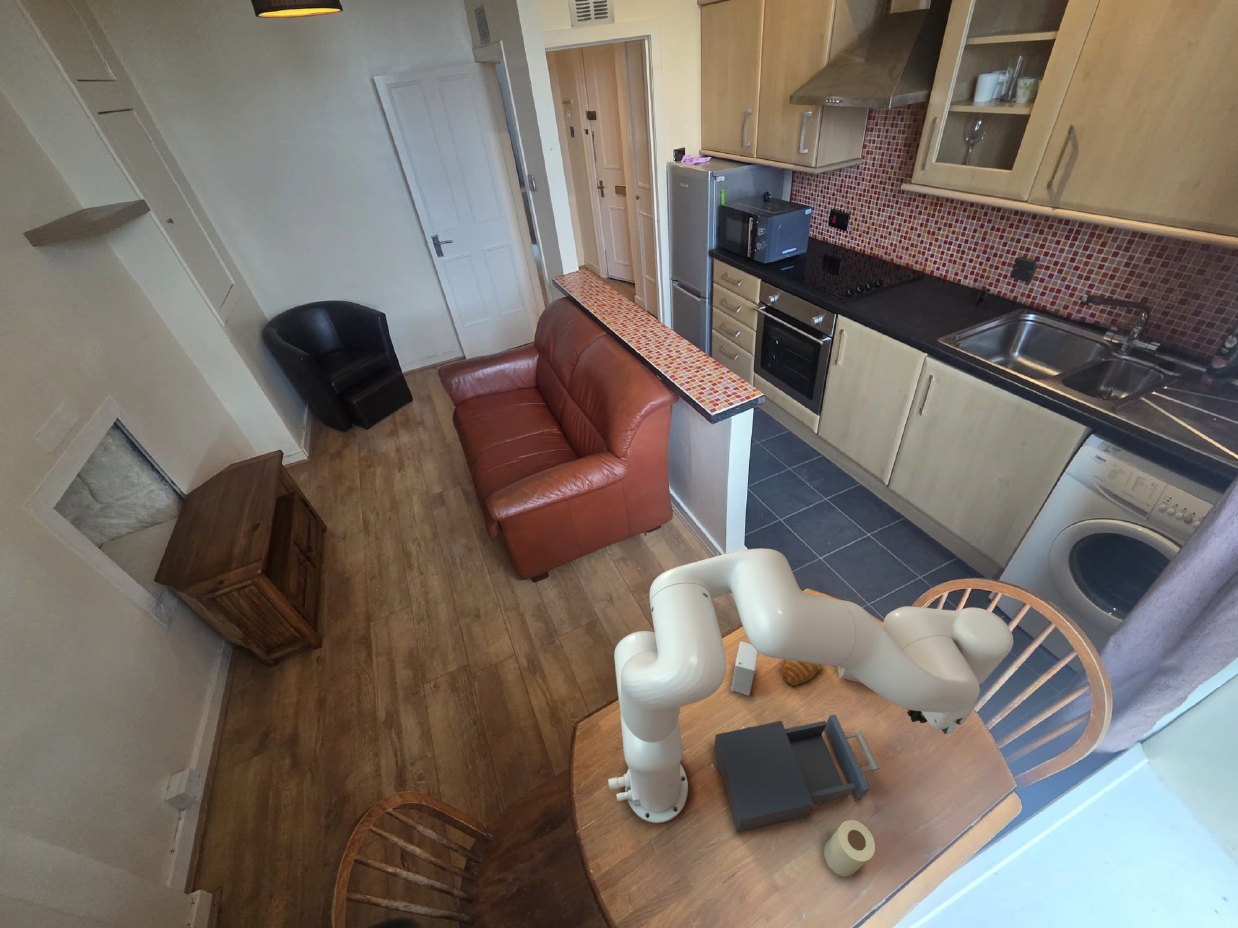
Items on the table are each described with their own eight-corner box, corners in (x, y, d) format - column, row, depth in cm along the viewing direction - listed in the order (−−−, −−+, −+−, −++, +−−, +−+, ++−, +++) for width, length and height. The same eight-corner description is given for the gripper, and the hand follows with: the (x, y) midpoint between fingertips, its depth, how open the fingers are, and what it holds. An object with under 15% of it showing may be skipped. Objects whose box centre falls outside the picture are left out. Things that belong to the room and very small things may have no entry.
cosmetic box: (749, 696, 114) (755, 671, 106) (730, 690, 115) (734, 665, 107) (754, 671, 118) (759, 645, 110) (735, 666, 119) (739, 640, 111)
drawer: (848, 722, 108) (855, 709, 103) (882, 794, 98) (892, 783, 93) (771, 739, 106) (775, 726, 102) (798, 813, 96) (804, 803, 92)
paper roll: (833, 879, 90) (848, 864, 81) (818, 841, 94) (832, 823, 85) (863, 872, 90) (882, 856, 82) (847, 834, 94) (864, 816, 86)
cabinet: (775, 736, 108) (781, 720, 102) (806, 817, 97) (814, 803, 91) (713, 749, 107) (715, 734, 101) (736, 832, 96) (740, 820, 90)
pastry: (798, 694, 113) (800, 687, 111) (773, 672, 118) (775, 664, 115) (823, 667, 117) (826, 659, 115) (798, 647, 122) (801, 639, 119)
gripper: (903, 629, 84) (875, 679, 96) (963, 722, 73) (922, 765, 85) (945, 620, 84) (912, 671, 97) (1012, 712, 73) (965, 756, 86)
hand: (917, 715), depth 91 cm, fingers closed
